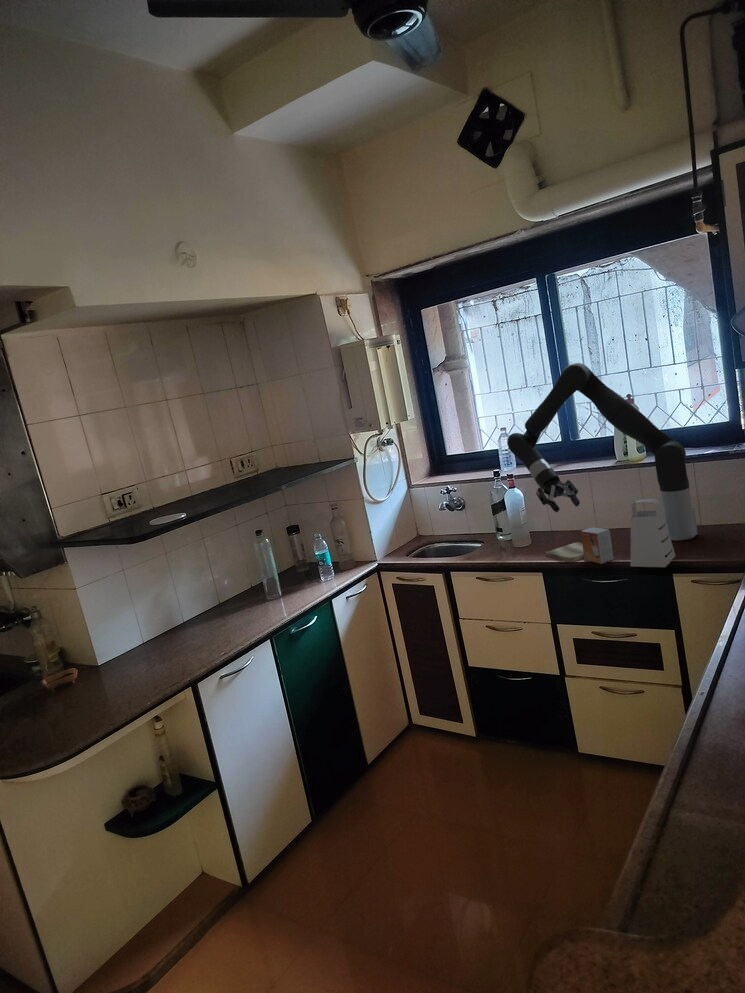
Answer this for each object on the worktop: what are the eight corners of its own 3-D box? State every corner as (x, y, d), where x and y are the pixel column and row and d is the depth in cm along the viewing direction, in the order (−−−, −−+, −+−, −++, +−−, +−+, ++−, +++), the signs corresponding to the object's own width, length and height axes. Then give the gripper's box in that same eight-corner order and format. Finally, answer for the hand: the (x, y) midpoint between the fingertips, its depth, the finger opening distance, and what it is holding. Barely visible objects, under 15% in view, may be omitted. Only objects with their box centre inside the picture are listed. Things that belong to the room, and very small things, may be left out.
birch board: (577, 545, 244) (577, 542, 244) (603, 551, 231) (602, 547, 231) (546, 556, 239) (545, 552, 239) (570, 562, 226) (570, 558, 226)
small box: (584, 560, 225) (579, 530, 224) (596, 556, 228) (592, 526, 226) (601, 564, 218) (596, 533, 217) (614, 559, 220) (609, 529, 219)
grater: (642, 556, 218) (633, 497, 215) (675, 556, 211) (667, 495, 208) (630, 566, 210) (622, 505, 207) (665, 567, 203) (656, 504, 200)
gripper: (530, 472, 236) (554, 506, 227) (563, 463, 240) (588, 496, 231) (524, 485, 242) (548, 519, 233) (556, 476, 246) (581, 509, 237)
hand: (568, 507), depth 232 cm, fingers open, 8 cm apart
